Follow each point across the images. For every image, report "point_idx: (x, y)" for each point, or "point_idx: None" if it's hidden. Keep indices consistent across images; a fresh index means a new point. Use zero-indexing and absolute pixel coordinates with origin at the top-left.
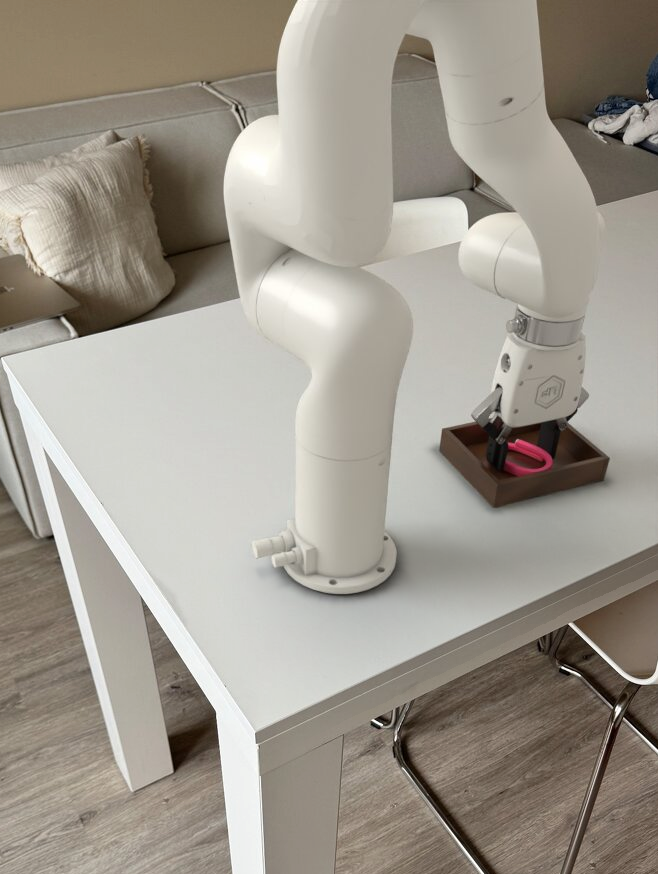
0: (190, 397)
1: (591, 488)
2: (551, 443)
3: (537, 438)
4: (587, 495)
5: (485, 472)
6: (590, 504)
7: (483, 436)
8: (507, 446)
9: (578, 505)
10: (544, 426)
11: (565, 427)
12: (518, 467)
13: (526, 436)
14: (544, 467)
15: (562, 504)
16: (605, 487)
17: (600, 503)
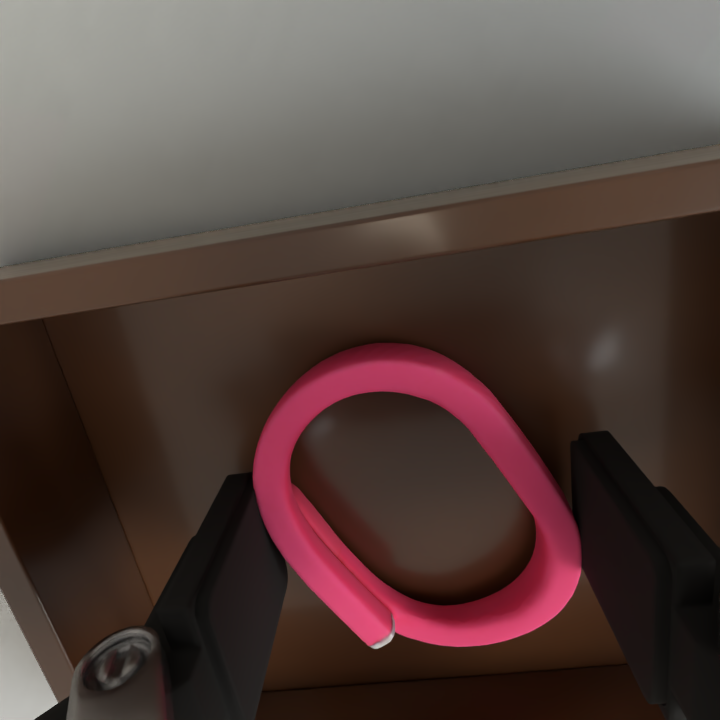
0: None
1: (95, 209)
2: (235, 551)
3: None
4: (140, 142)
5: None
6: (152, 37)
7: (517, 704)
8: (668, 545)
9: (234, 43)
10: (244, 696)
11: (100, 649)
12: (498, 423)
13: (282, 668)
14: (337, 388)
15: (332, 78)
16: (8, 201)
17: (84, 34)
